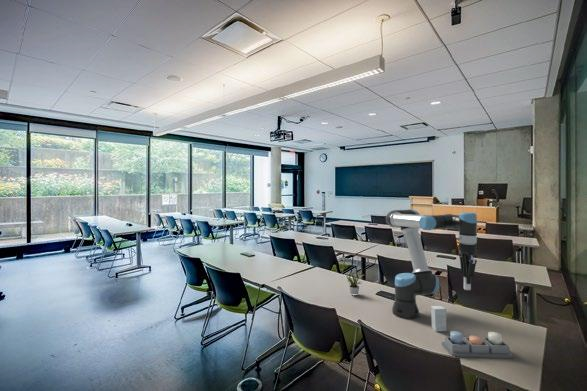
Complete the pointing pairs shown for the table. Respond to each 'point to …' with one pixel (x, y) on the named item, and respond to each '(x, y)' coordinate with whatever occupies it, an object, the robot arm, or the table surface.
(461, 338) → the blue button
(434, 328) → the skincare box
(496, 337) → the button cream
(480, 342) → the button terracotta
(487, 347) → the tray
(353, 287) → the house plant
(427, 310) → the table surface
